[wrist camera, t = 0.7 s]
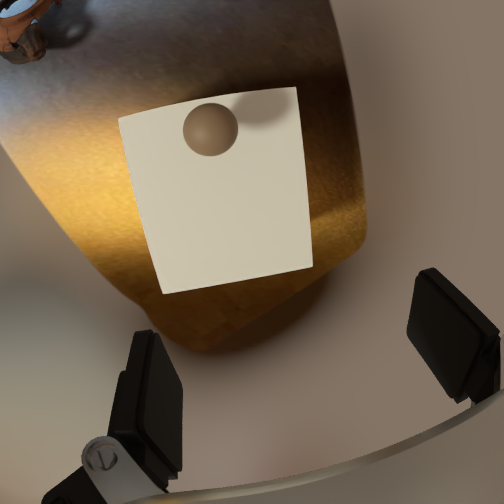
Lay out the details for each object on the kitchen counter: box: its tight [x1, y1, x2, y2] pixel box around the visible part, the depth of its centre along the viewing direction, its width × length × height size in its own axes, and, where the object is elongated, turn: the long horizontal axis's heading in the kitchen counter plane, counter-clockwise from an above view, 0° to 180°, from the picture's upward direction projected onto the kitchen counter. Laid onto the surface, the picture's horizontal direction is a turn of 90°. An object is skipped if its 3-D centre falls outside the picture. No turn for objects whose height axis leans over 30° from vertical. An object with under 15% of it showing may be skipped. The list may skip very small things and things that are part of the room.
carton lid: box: [118, 87, 313, 294], centre depth 23 cm, size 16×14×7 cm
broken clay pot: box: [0, 0, 62, 64], centre depth 21 cm, size 12×10×8 cm
